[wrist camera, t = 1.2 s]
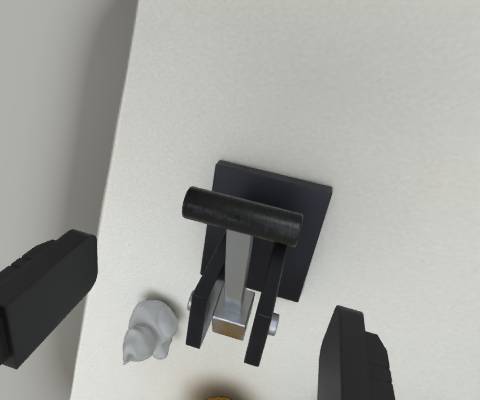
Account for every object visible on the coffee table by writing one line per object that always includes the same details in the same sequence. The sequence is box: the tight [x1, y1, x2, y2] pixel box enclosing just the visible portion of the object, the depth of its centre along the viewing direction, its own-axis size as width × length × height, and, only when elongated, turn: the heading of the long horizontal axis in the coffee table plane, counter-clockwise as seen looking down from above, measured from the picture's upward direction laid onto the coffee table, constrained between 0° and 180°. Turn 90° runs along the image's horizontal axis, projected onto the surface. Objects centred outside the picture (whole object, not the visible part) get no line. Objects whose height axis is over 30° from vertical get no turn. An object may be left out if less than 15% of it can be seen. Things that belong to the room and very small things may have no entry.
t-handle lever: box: [182, 186, 303, 341], centre depth 20 cm, size 13×5×2 cm, turn 170°
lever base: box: [186, 161, 332, 367], centre depth 28 cm, size 12×10×13 cm
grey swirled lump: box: [123, 300, 178, 365], centre depth 38 cm, size 5×7×8 cm
